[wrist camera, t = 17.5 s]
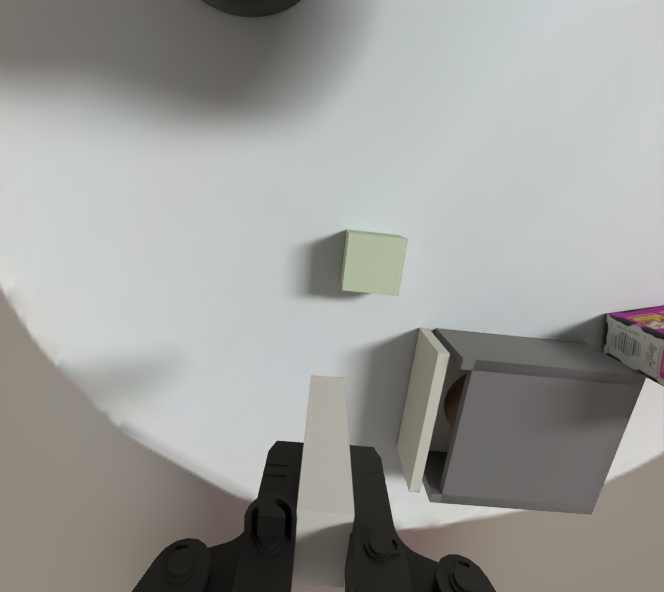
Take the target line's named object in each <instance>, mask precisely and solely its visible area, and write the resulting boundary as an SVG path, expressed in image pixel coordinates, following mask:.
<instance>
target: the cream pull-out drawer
mask: <svg viewBox="0 0 664 592" xmlns="http://www.w3.org/2000/svg"><path fill="white" fill-rule="evenodd" d="M465 374H467V370H464V369H460V368H459V366H458V365H457V364H456V363H455V362H454V360H453V359H452V358H451V357H450V353H449V352H448V351H447V350H446V349H445V347H444V346H443V345H442V344H441V343H440V341H439V340H438V339H437V338H436V337H435V335H434V334H433V333H432V332H431V331H430V329H425V328H419V333H418V339H417V344H416V349H415V354H414V360H413V365H412V370H411V375H410V381H409V386H408V391H407V396H406V401H405V407H404V412H403V417H402V422H401V428H400V433H399V438H398V443H397V451H398V455H399V458H400V462H401V465H402V469H403V472H404V476H405V479H406V482H407V486H408V489H409V492H418V493H419V492H420V487H421V483H422V478H423V474H424V469H425V465H426V460H427V455H428V451H440V452H448V449H449V445H450V441H451V437H452V432H453V429H452V427H451V425H450V423H449V422H448V420H447V418H446V415H445V412H444V401H445V397H446V394H447V392H448V390H449V388H450V387H451V386H452V384H453V383H454V382H455V381H456V380H458V379H459V378H460V377H462V376H463V375H465Z"/></svg>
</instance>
